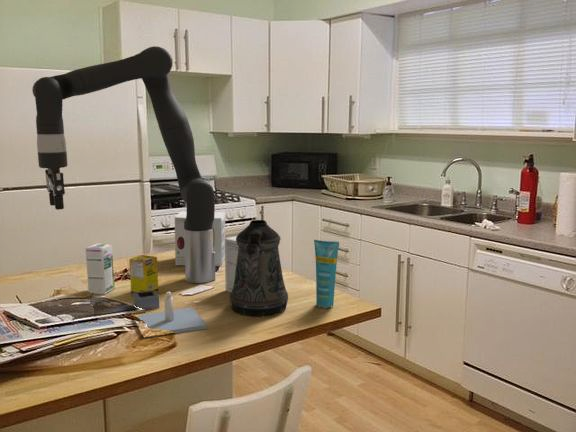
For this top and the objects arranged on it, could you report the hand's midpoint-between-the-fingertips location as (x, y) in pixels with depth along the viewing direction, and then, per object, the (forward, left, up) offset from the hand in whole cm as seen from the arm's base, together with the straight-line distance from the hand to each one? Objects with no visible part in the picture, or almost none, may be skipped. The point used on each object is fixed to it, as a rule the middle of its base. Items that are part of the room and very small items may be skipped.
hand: (56, 207), depth 156 cm
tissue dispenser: (-21, +17, -27) cm, 38 cm away
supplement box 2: (-49, -24, -28) cm, 61 cm away
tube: (-68, +37, -27) cm, 82 cm away
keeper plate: (-24, +33, -27) cm, 49 cm away
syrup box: (-11, -2, -28) cm, 30 cm away
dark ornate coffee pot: (-50, +32, -28) cm, 65 cm away
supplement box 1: (-23, +4, -28) cm, 36 cm away
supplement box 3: (-52, +15, -28) cm, 61 cm away
